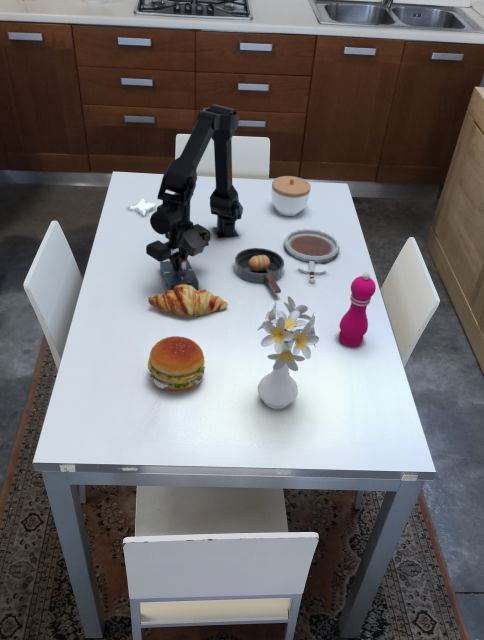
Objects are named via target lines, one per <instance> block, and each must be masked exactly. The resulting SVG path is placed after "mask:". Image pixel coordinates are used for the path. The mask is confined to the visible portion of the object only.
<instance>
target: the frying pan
mask: <svg viewBox="0 0 484 640" xmlns="http://www.w3.org/2000/svg"><path fill="white" fill-rule="evenodd" d="M283 243H284V248H285V249H286V251H287V252H288V254H289V255H290V256H292V257H293V258H295V259H297V260H300V261H303V262H306V263H307V262H308V270H304V269H302V268H300V267H298V268H297V271H298V272H300V273H302V274H305V275H309V277H310V279H309V280H308V282H309V284H311V285H313V284H315V283H316V279H315V276H316V275H317V276H320V275H324V274H327V270H322V271H316V265H315V264H316V263H317V264H319V263H320V264H324V263H328V262H330V261H332V260H333V259H334V258H335V257H336V255H337V254H338V253H339V250H340V245H339V242H338V240H337V239H336V238H335V237H334V236H333V235H331V234H330V233H327V232H325V231H322V230H319V229H318V230H317V229H313V228H302V229H296V230H294V231H291V232H289V234H287V235H286V237H285V239H284V242H283Z"/></svg>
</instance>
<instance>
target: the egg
mask: <svg viewBox="0 0 484 640" xmlns="http://www.w3.org/2000/svg"><path fill="white" fill-rule="evenodd" d="M269 266H270V260H269V258H268V257H267V256H265V255H258V256H253V257H252V258H251V259H250V260H249V267H250V269H251V270H252V271H255V272H257V271H265V270H267V269H268V268H269Z"/></svg>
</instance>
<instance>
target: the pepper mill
mask: <svg viewBox="0 0 484 640" xmlns="http://www.w3.org/2000/svg"><path fill="white" fill-rule="evenodd" d="M376 288H377V286H376V282H375V280H374V279H373V278H371V275H370V273H369V272H364V273H362V275H359V276H357V277H356V278H354V279H353V281H352V282H351V285H350V292H351V294H350V297H349V300H350V306H349V308H348V310H347V311H346V313H344V315H343V316H342V317H341V319H340V322H339V326H338V327H339V330H340V331H339V334H338V340H339V342H340V344H342V345H344V346H346V347H349V348H355V347H359V346H361V345H362V344H363V340H364V335H365V334H367V332H368V330H369V329H368V327H369V320H368V316H367V308H368V306H369V305H370V303H371V300H372V297H373V296H374V295H375V293H376Z"/></svg>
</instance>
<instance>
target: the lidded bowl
mask: <svg viewBox="0 0 484 640" xmlns="http://www.w3.org/2000/svg"><path fill="white" fill-rule="evenodd" d="M311 188H312V186H311V184H310V182H309V181H307V180H306V179H304V178H302V177H298V176H292V175H283V176H279V177H278V176H277V177H276V178H274V179H273V180H272V182H271V202H272V205H273V207H274V208H275V210H277V213H278V214H280V215H282V216H285V217H295V216H297V215H298V214H299V213H300V212H302V211H303V210H304V209H305V207H306V206H307V203H308V201H309V197H310V193H311Z"/></svg>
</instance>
